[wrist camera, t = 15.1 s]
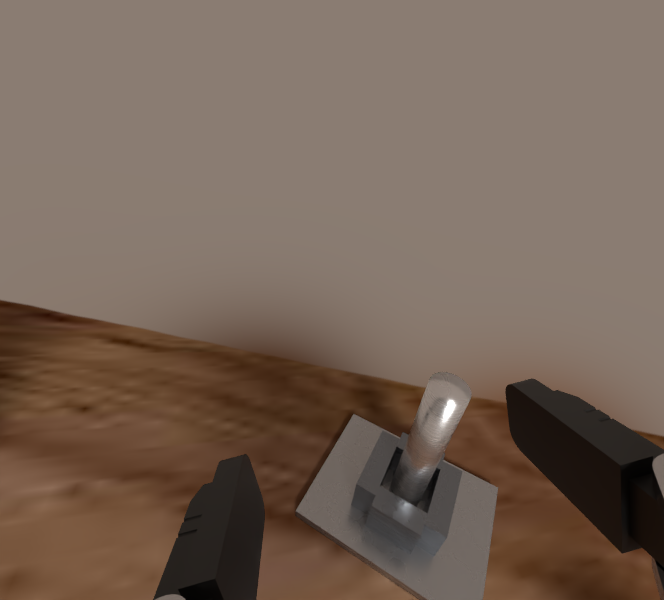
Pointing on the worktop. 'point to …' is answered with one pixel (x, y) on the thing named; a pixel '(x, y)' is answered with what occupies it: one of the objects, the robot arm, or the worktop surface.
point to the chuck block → (403, 516)
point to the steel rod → (430, 435)
